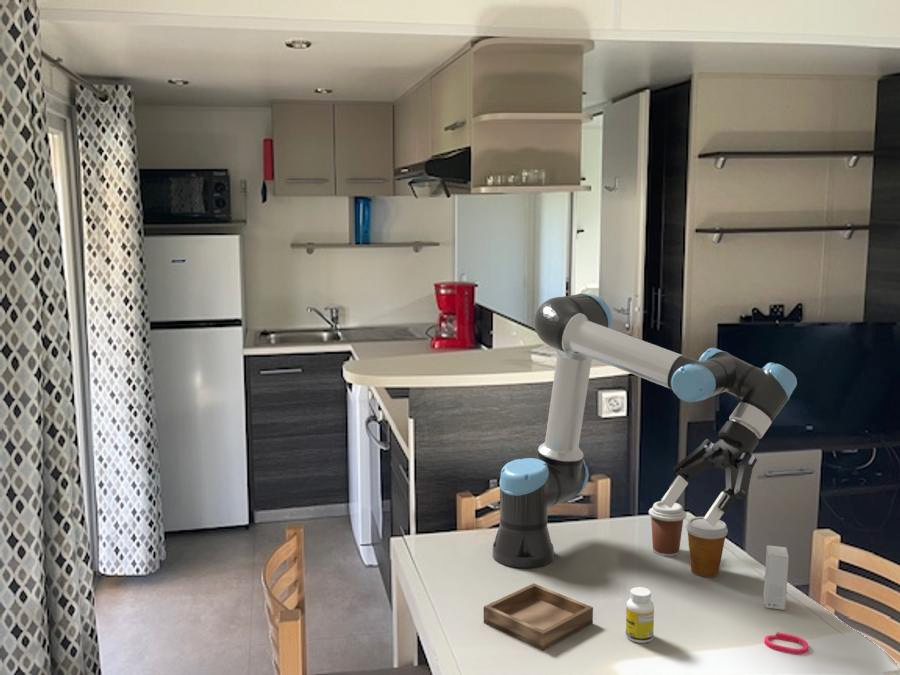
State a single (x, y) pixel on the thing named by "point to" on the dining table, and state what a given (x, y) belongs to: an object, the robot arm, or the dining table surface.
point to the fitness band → (787, 638)
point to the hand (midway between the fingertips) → (686, 513)
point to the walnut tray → (538, 616)
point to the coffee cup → (666, 528)
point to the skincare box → (776, 577)
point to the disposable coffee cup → (705, 546)
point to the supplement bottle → (640, 616)
